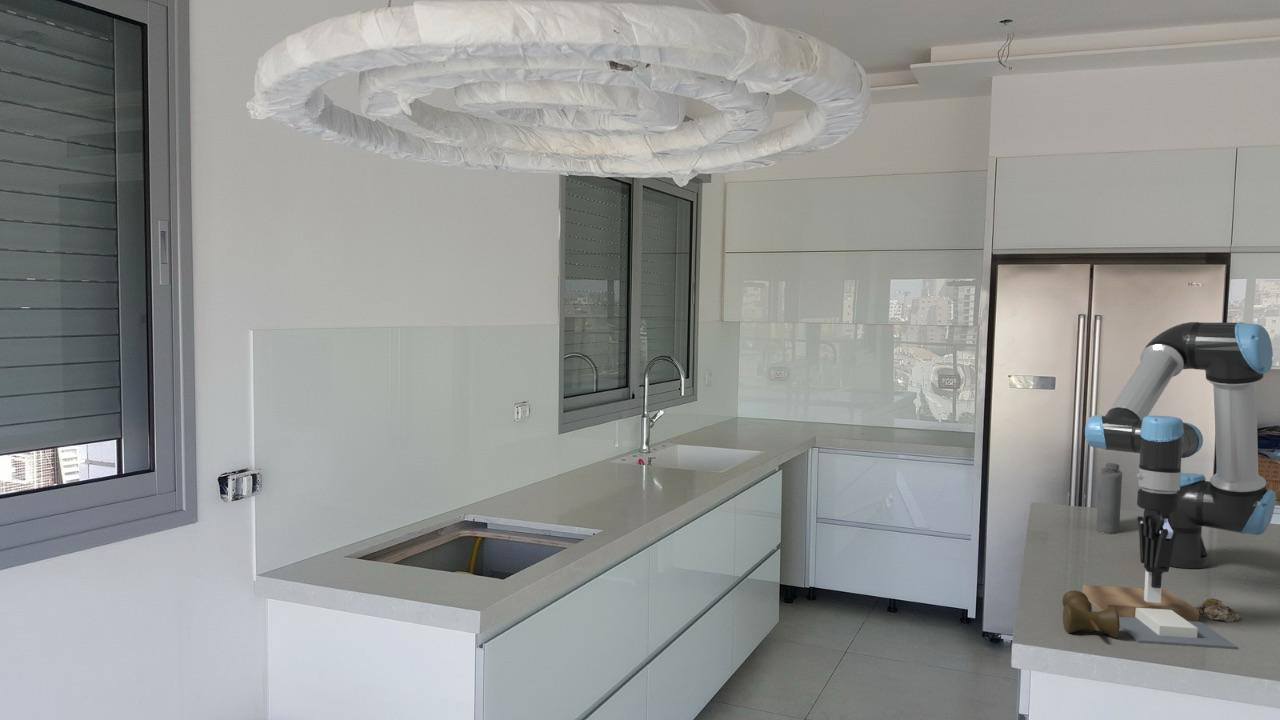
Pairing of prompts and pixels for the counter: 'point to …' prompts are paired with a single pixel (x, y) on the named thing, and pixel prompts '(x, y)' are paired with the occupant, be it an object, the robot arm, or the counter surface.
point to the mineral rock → (1217, 611)
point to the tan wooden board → (1136, 601)
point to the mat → (1145, 634)
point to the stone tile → (1166, 622)
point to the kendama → (1088, 615)
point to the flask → (1109, 499)
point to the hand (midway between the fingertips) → (1152, 601)
